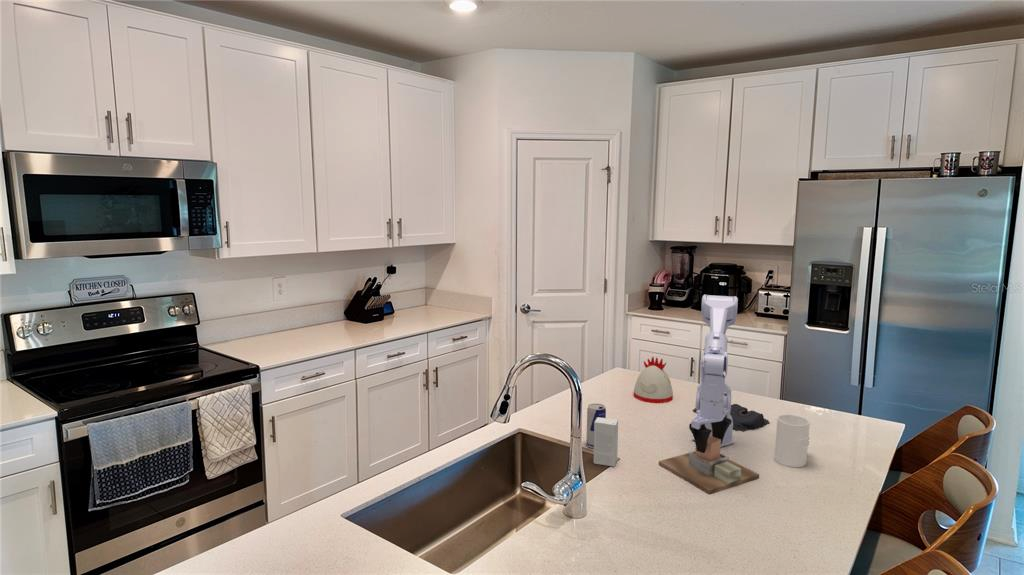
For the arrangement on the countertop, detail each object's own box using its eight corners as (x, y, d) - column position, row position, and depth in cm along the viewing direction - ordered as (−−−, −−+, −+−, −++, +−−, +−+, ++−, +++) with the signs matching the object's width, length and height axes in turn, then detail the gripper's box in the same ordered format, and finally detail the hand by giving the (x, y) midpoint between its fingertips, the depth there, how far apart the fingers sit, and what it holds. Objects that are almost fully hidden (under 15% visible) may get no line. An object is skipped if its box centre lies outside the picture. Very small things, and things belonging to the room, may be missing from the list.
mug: (819, 459, 163) (823, 418, 161) (797, 470, 156) (801, 428, 154) (791, 448, 170) (794, 409, 168) (768, 459, 163) (771, 418, 161)
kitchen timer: (665, 406, 204) (667, 364, 202) (627, 398, 211) (629, 358, 209) (677, 395, 215) (679, 355, 213) (641, 388, 223) (643, 350, 221)
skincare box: (617, 460, 162) (618, 419, 160) (615, 467, 158) (616, 425, 156) (595, 457, 164) (596, 416, 162) (592, 463, 160) (593, 422, 158)
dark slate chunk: (720, 404, 207) (720, 391, 206) (773, 426, 188) (774, 412, 187) (688, 412, 200) (689, 398, 199) (740, 435, 181) (741, 420, 180)
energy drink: (604, 450, 168) (605, 410, 166) (585, 448, 169) (586, 409, 167) (605, 442, 173) (606, 404, 171) (587, 441, 174) (588, 402, 172)
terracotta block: (704, 451, 158) (705, 434, 157) (719, 457, 155) (721, 439, 154) (695, 456, 155) (696, 438, 155) (710, 462, 152) (711, 443, 151)
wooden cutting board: (706, 451, 168) (707, 436, 167) (759, 478, 152) (760, 461, 151) (658, 464, 159) (659, 448, 158) (708, 494, 144) (710, 476, 143)
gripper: (714, 389, 160) (711, 436, 162) (682, 400, 151) (679, 449, 153) (737, 395, 155) (734, 444, 157) (706, 408, 146) (703, 459, 148)
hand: (709, 447), depth 155 cm, fingers open, 7 cm apart
